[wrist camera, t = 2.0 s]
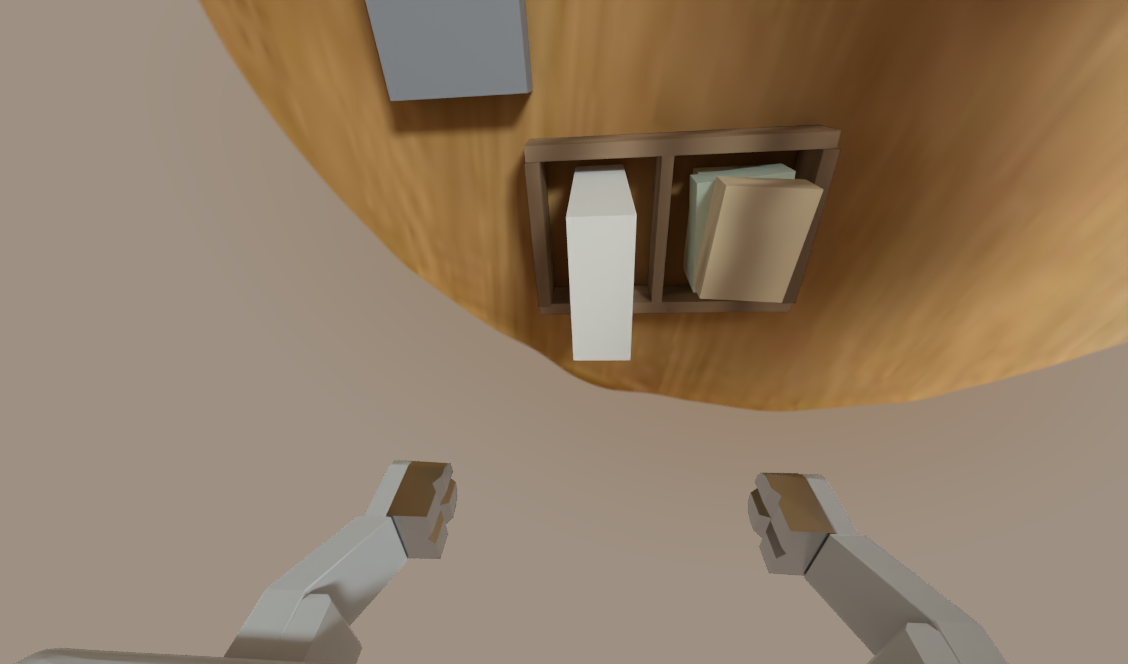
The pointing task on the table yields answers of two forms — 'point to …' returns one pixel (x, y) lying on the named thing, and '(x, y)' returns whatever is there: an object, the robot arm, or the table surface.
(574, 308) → the tall white box
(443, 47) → the slate plinth
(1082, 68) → the table surface
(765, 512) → the robot arm
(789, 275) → the offcut top
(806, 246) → the walnut rack
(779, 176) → the block
